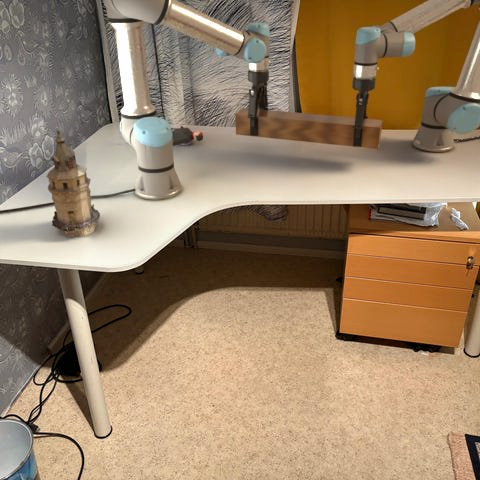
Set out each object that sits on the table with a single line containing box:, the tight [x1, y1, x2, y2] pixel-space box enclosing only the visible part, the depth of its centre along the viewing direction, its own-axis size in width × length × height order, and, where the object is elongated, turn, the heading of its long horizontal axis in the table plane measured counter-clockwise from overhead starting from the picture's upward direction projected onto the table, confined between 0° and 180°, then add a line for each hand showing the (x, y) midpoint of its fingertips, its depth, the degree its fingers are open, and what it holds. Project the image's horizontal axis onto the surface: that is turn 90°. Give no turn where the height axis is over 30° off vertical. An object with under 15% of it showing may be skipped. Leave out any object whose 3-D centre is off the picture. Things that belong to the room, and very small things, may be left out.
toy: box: [171, 125, 204, 147], centre depth 219 cm, size 26×6×30 cm
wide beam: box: [235, 107, 384, 150], centre depth 194 cm, size 52×9×8 cm, turn 71°
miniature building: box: [46, 129, 101, 237], centre depth 148 cm, size 13×14×30 cm
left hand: (258, 131), depth 201 cm, fingers closed on wide beam, 9 cm apart
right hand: (358, 141), depth 191 cm, fingers closed on wide beam, 9 cm apart
